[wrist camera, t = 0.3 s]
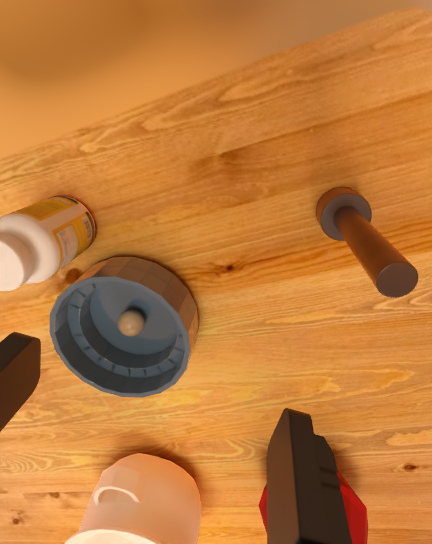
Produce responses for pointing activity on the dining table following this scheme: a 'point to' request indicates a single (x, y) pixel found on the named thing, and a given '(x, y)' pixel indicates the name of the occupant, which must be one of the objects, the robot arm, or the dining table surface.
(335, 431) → the dining table surface
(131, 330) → the bead
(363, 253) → the masher
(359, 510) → the red jar
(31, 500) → the dining table surface
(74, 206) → the pill bottle
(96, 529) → the pot
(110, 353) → the bowl
